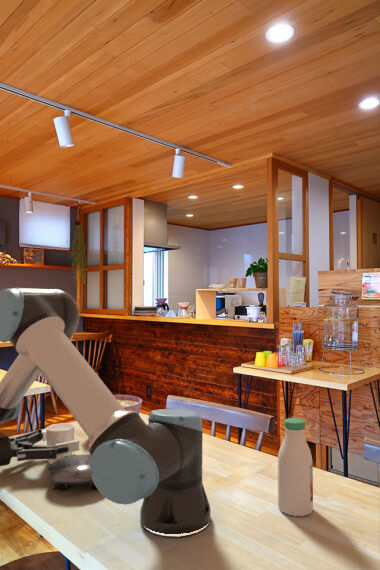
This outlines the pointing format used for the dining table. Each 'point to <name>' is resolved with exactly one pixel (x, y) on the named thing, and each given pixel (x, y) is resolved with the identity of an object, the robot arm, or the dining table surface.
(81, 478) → the stand
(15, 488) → the dining table surface
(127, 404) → the bowl of food
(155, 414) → the robot arm
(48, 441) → the white cup
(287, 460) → the milk bottle
